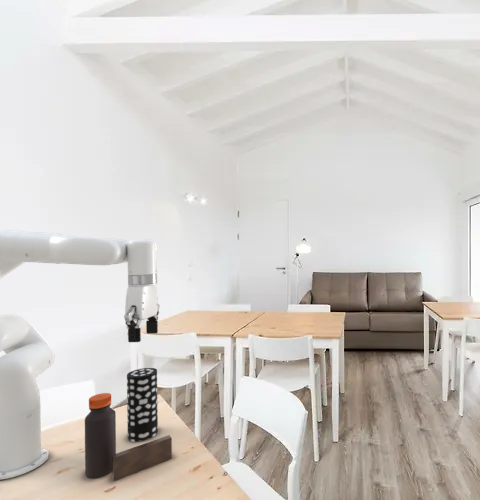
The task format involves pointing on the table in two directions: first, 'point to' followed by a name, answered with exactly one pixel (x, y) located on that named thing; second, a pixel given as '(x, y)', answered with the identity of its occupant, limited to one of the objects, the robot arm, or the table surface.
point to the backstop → (141, 457)
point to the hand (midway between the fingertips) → (143, 337)
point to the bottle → (99, 436)
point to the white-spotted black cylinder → (142, 404)
